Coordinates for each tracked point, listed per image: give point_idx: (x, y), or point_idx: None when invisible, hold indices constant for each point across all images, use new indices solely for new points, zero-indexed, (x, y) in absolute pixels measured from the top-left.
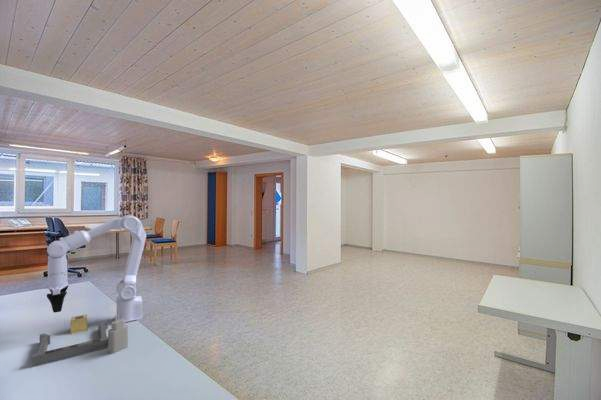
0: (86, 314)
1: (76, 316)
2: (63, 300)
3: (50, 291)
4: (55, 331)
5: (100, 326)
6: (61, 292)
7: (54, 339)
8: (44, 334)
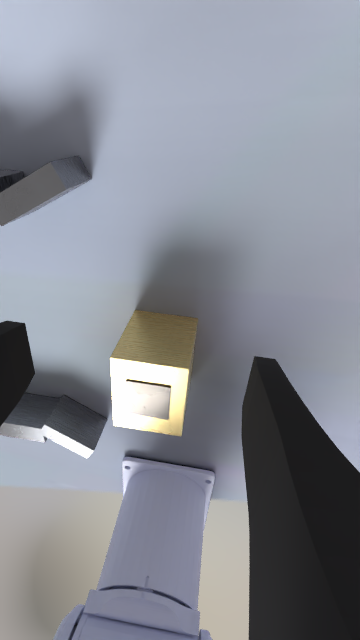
0: (179, 434)
1: (181, 393)
2: (245, 462)
3: (331, 584)
4: (242, 246)
5: (22, 426)
6: (260, 594)
7: (96, 234)
8: (40, 193)
